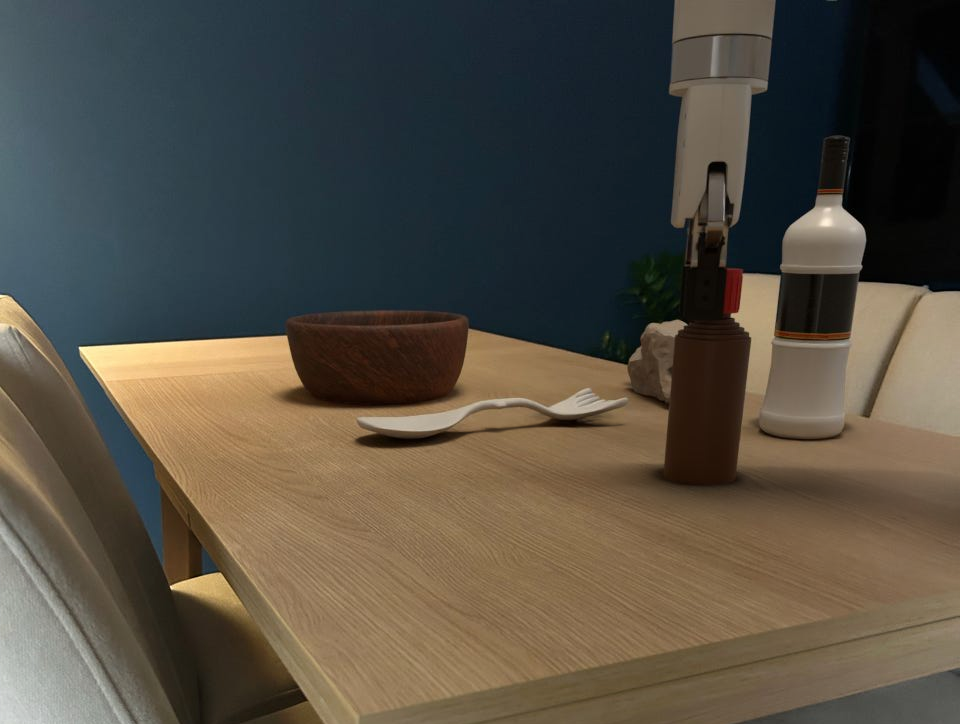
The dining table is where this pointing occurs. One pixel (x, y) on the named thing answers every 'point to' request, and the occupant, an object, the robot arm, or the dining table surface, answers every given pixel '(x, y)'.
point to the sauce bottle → (706, 402)
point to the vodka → (815, 311)
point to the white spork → (436, 423)
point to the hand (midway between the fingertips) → (700, 315)
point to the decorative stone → (655, 360)
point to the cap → (733, 290)
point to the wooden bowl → (378, 354)
